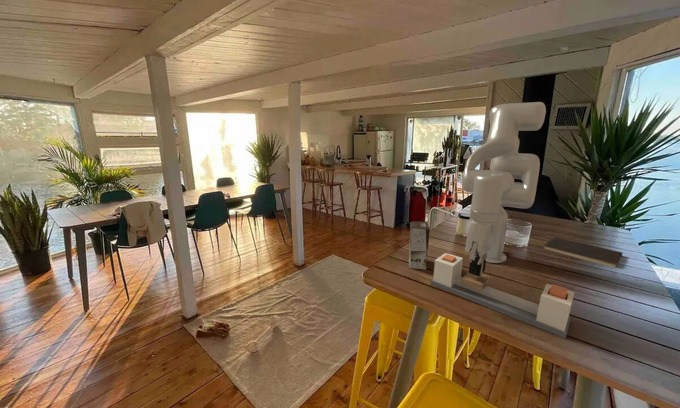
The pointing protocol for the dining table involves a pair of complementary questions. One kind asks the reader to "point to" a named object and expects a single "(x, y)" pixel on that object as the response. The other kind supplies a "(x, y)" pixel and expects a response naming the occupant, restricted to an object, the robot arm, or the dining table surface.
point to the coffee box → (418, 245)
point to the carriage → (476, 279)
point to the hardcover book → (584, 251)
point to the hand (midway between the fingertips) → (476, 271)
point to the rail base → (501, 307)
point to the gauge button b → (558, 291)
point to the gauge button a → (449, 258)
